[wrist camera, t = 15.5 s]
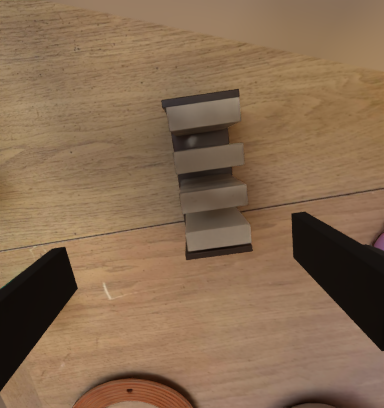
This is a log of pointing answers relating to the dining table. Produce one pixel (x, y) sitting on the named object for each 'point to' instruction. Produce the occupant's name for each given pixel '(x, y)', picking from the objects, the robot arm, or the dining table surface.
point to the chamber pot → (313, 405)
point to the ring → (132, 394)
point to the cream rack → (207, 157)
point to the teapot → (380, 242)
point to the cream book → (216, 229)
